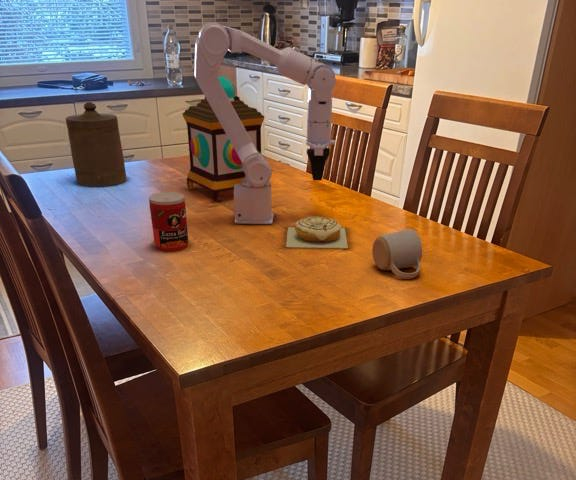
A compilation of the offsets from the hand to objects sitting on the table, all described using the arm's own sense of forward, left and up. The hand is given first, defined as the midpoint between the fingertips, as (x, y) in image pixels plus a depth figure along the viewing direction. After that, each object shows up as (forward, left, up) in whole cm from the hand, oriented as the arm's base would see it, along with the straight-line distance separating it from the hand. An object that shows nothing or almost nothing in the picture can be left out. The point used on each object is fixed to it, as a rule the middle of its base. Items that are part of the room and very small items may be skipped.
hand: (317, 179), depth 145 cm
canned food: (-33, -23, -10) cm, 41 cm away
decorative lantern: (-26, +23, -10) cm, 36 cm away
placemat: (0, -16, -9) cm, 19 cm away
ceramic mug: (+17, -35, -10) cm, 40 cm away
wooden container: (-66, +33, -10) cm, 74 cm away
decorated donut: (0, -16, -9) cm, 18 cm away
